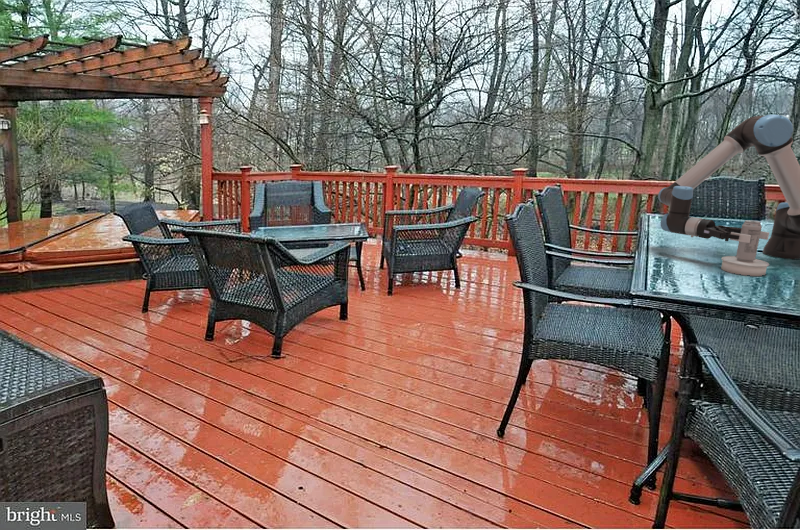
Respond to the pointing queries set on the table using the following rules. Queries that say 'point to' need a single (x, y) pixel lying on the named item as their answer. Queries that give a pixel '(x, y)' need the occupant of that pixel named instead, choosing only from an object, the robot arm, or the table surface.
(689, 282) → the table surface
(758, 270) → the pedestal
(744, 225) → the energy drink can
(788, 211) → the robot arm
